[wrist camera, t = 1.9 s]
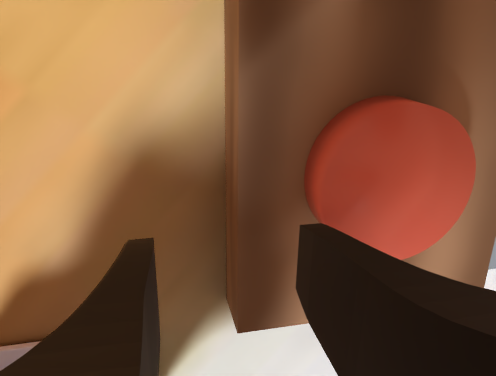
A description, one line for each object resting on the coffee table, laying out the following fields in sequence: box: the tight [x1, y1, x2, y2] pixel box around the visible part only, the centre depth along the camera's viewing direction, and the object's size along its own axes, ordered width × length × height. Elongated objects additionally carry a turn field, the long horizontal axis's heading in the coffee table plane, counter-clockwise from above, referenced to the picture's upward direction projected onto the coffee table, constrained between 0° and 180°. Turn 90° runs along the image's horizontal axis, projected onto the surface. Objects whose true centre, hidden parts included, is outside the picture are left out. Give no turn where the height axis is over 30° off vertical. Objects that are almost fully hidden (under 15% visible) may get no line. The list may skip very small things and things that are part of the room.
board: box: [224, 0, 496, 333], centre depth 22 cm, size 14×16×3 cm
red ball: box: [304, 95, 476, 260], centre depth 19 cm, size 7×7×2 cm
